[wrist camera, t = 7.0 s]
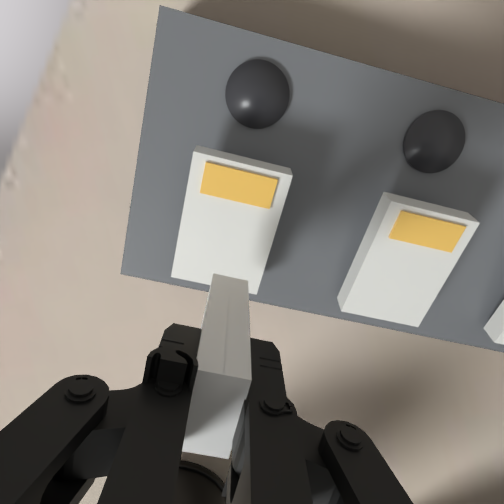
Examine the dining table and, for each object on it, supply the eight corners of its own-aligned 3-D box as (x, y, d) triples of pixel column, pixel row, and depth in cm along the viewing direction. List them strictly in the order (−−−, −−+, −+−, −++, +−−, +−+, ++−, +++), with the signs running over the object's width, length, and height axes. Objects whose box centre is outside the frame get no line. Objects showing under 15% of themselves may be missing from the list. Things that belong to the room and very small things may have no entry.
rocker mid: (467, 212, 19) (481, 224, 18) (410, 313, 22) (419, 328, 21) (383, 191, 19) (392, 202, 17) (336, 297, 22) (341, 312, 20)
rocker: (290, 168, 18) (293, 176, 17) (256, 282, 21) (256, 296, 20) (196, 144, 18) (193, 152, 16) (174, 264, 21) (170, 278, 19)
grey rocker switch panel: (635, 153, 24) (704, 160, 20) (533, 336, 28) (575, 368, 24) (172, 22, 20) (159, 4, 17) (136, 252, 24) (119, 275, 21)
